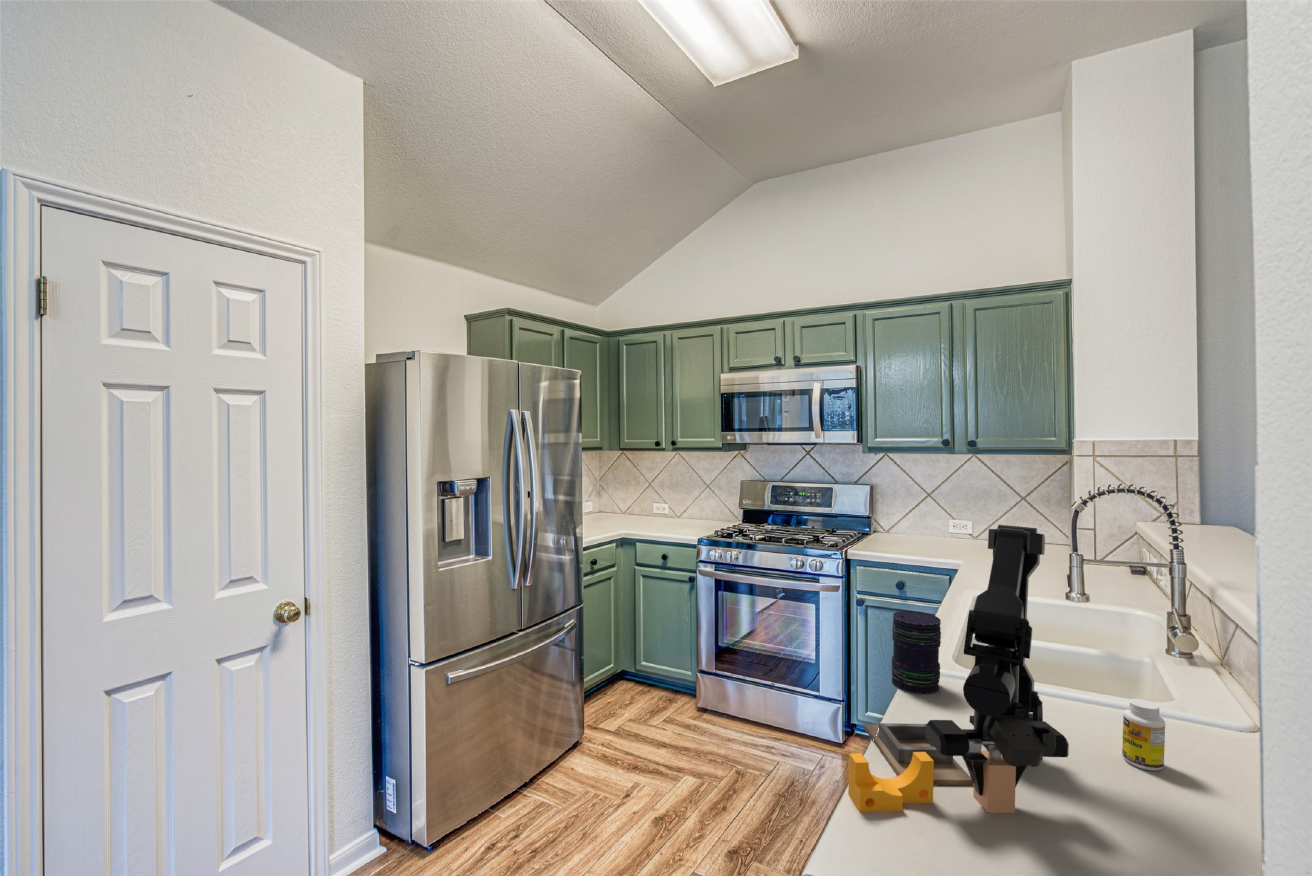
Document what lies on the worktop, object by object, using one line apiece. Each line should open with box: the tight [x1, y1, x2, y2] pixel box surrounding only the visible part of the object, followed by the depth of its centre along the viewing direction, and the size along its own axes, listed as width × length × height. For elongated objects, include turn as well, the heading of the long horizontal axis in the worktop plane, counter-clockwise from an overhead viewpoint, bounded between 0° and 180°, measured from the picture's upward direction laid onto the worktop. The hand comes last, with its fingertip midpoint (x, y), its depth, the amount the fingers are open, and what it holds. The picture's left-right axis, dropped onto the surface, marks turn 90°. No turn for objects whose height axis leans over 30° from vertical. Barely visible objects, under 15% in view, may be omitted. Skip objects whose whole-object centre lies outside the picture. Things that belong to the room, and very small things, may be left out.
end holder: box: [863, 722, 974, 786], centre depth 106 cm, size 11×18×3 cm, turn 0°
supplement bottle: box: [1121, 698, 1166, 772], centre depth 104 cm, size 6×6×10 cm
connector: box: [973, 745, 1016, 814], centre depth 92 cm, size 4×4×9 cm
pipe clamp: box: [847, 752, 934, 813], centre depth 93 cm, size 12×4×6 cm, turn 94°
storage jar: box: [890, 610, 942, 695], centre depth 135 cm, size 10×10×15 cm
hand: (993, 794), depth 92 cm, fingers closed on connector, 4 cm apart
